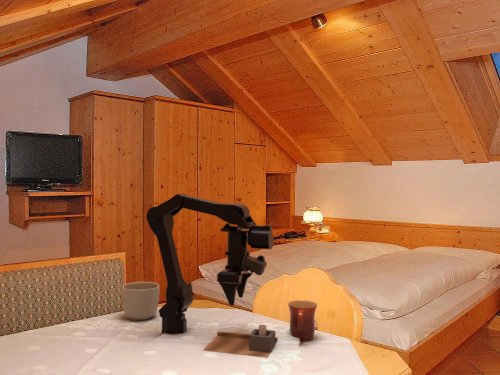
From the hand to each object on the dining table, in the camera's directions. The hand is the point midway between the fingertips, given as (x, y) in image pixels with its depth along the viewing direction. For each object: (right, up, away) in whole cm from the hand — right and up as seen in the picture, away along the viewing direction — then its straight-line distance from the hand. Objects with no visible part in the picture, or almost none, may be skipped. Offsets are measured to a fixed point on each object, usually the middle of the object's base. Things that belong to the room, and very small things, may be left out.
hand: (236, 301), depth 130 cm
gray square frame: (+7, -11, -7) cm, 15 cm away
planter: (-33, -12, +23) cm, 42 cm away
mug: (+19, -13, +3) cm, 23 cm away
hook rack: (+1, -12, -6) cm, 13 cm away
